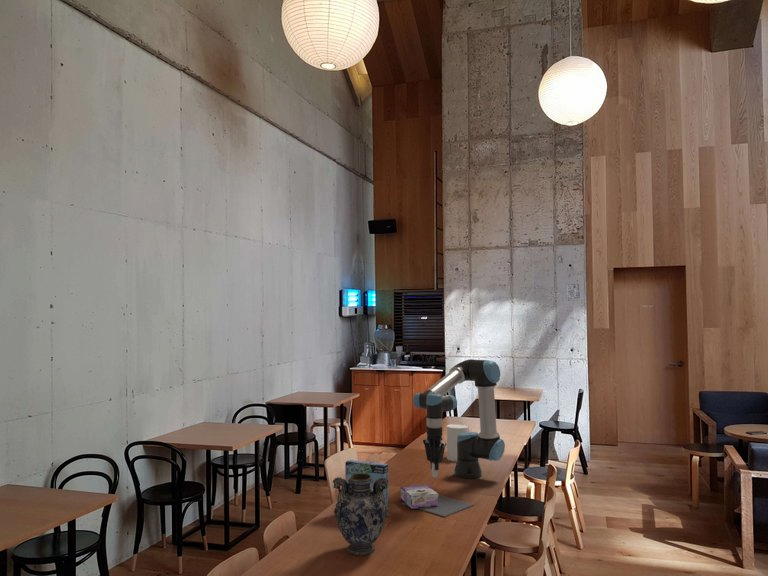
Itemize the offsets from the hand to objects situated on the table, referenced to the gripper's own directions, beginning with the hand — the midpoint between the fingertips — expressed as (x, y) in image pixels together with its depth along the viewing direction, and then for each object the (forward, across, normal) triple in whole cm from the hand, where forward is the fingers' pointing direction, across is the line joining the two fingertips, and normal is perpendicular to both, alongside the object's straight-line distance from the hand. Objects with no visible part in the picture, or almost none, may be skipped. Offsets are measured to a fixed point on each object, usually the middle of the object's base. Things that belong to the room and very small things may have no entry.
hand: (434, 476), depth 282 cm
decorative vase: (+13, +15, -62) cm, 65 cm away
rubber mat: (+13, +2, -1) cm, 13 cm away
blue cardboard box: (+13, -12, -33) cm, 37 cm away
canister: (+13, -44, +75) cm, 88 cm away
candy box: (+9, -12, -1) cm, 15 cm away
